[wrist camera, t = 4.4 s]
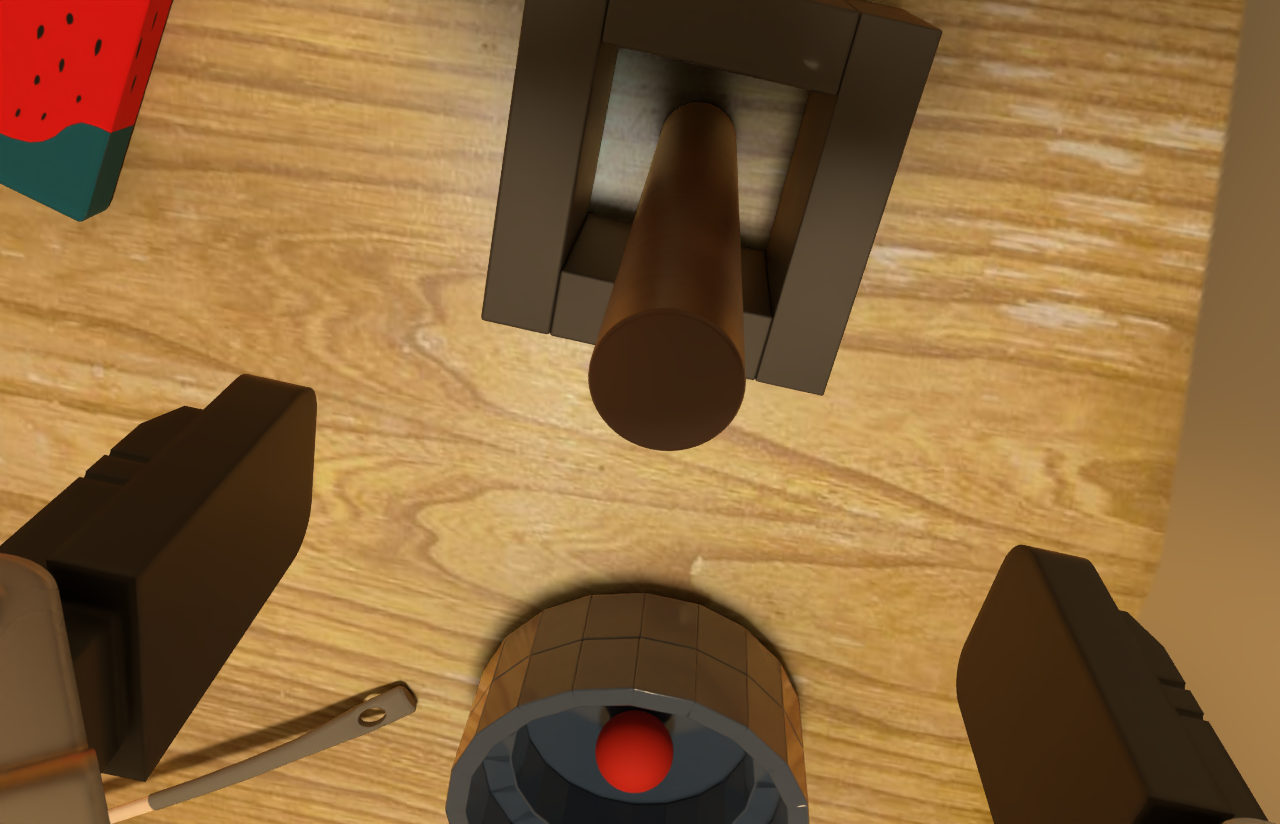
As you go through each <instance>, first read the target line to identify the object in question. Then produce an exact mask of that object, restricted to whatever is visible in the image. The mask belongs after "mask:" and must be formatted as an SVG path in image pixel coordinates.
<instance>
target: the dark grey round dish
mask: <svg viewBox="0 0 1280 824" xmlns="http://www.w3.org/2000/svg"><path fill="white" fill-rule="evenodd" d="M631 710H639V711H644V712H647V713H650V714H652V715H654V716H655V717H657V718H658V719H659V720H660V721H661V722H662V723H663V724H664V725H665V727H666V728H667V730H668V731H669V733H670V736H671V739H672V742H673V761H672V765H671V768H670V770H669V772H668V774H667V775H666V777H665V778H664V779H663V780H662V782H660V783H659V784H658V785H657V786H656V787H654V788H652V789H650V790H648V791H645V792H641V793H628V792H624V791H621V790H618V789H616V788H615V787H613V786H612V785H611V784H609V783H608V782H607V781H606V779H605V778H604V777H603V776H602V774H601V772H600V770H599V768H598V765H597V762H596V755H595V749H596V742H597V738H598V736H599V733H600V731H601V729H602V728H603V726H604V725H605V724H606V723H607V722H608V721H609V720H610V719H611V718H613V717H614V716H616V715H617V714H619V713H622V712H625V711H631ZM445 809H446V814H447V818H448V821H449V824H809V806H808V794H807V784H806V773H805V762H804V752H803V740H802V729H801V718H800V707H799V700H798V697H797V695H796V693H795V691H794V689H793V687H792V685H791V683H790V681H789V679H788V677H787V675H786V673H785V671H784V669H783V667H782V665H781V663H780V662H779V660H778V659H777V658H776V657H775V656H774V655H773V654H772V653H771V652H770V651H769V650H768V649H767V648H765V647H764V646H763V645H762V644H761V643H760V642H759V641H758V640H757V639H756V638H755V637H754V636H753V635H752V634H751V633H750V632H749V631H748V630H747V629H745V627H743V626H741V625H739V624H737V623H735V622H733V621H731V620H730V619H728V618H726V617H724V616H722V615H720V614H718V613H716V612H714V611H712V610H710V609H708V608H706V607H704V606H702V605H700V604H699V605H698V604H696V603H692V602H687V601H682V600H678V599H673V598H668V597H664V596H659V595H655V594H650V593H646V594H645V593H623V594H599V595H588V596H585V597H582V598H579V599H576V600H573V601H570V602H566V603H563V604H560V605H557V606H554V607H551V608H548V609H545V610H543V611H542V612H540V613H539V614H537V615H536V616H535V617H533V618H532V619H530V620H529V621H528V622H526V623H525V624H523V625H522V626H521V627H519V628H518V629H516V630H515V631H514V632H512V633H511V634H509V635H508V636H507V637H506V638H505V639H504V640H503V642H502V643H501V645H500V646H499V648H498V650H497V651H496V653H495V654H494V656H493V657H492V659H491V660H490V662H489V663H488V665H487V666H486V668H485V669H484V672H483V674H482V677H481V680H480V683H479V687H478V690H477V693H476V696H475V699H474V702H473V705H472V708H471V711H470V714H469V718H468V720H467V724H466V727H465V730H464V733H463V736H462V739H461V742H460V745H459V748H458V751H457V754H456V757H455V761H454V764H453V767H452V770H451V775H450V782H449V788H448V794H447V800H446V807H445Z"/></svg>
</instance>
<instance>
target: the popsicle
mask: <svg viewBox="0 0 1280 824" xmlns="http://www.w3.org/2000/svg"><path fill="white" fill-rule="evenodd" d="M171 2H172V0H0V184H2V185H4V186H6V187H9V188H11V189H13V190H15V191H17V192H19V193H21V194H23V195H25V196H27V197H29V198H31V199H33V200H35V201H37V202H39V203H41V204H43V205H46V206H48V207H50V208H52V209H54V210H56V211H58V212H60V213H62V214H64V215H66V216H68V217H70V218H72V219H74V220H76V221H78V222H80V221H84V220H86V219H88V218H90V217H92V216H94V215H96V214H98V213H101V212H103V211H105V210H106V209H107V207H108V206H109V204H110V201H111V198H112V195H113V192H114V189H115V185H116V182H117V179H118V175H119V172H120V169H121V166H122V162H123V159H124V156H125V152H126V149H127V146H128V143H129V139H130V136H131V133H132V130H133V126H134V123H135V120H136V116H137V113H138V110H139V107H140V103H141V100H142V97H143V94H144V90H145V87H146V84H147V80H148V77H149V74H150V71H151V67H152V64H153V61H154V58H155V54H156V51H157V48H158V44H159V41H160V38H161V35H162V31H163V28H164V25H165V21H166V18H167V15H168V12H169V8H170V5H171Z"/></svg>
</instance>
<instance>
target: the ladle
mask: <svg viewBox="0 0 1280 824" xmlns="http://www.w3.org/2000/svg"><path fill="white" fill-rule="evenodd" d="M369 708H381V709H383V710H384V711H385V713H386V714H385V715H384V717H382V718H381V719H379V720H377V721H374V722H365V721H363V720H362V719H361V718H360V714H361V713H362V712H363V711H365V710H367V709H369ZM415 710H416V703H415V701H414V699H413V697H412V695H411V694H410V692H409V691H408V690H407V689H406V688H405V687H403V686H397V687H395V688H393V689H391V690H389V691H386V692H384V693H382V694H380V695H378V696H376V697H374V698H371V699H369V700H368V701H366V702H364V703H361V704H359V705H357V706H355V707H353V708H351V709H350V710H348V711H346V712H344V713H342V714H340V715H339V716H337V717H335V718H333V719H331V720H329V721H328V722H326V723H324V724H322V725H320V726H318V727H317V728H315V729H313V730H311V731H309V732H307V733H306V734H304V735H302V736H300V737H298V738H296V739H294V740H292V741H290V742H287V743H285V744H282V745H280V746H278V747H275V748H273V749H270V750H268V751H266V752H263V753H261V754H258V755H256V756H253V757H251V758H249V759H246V760H244V761H241V762H239V763H236V764H233V765H231V766H228V767H225V768H223V769H220V770H217V771H215V772H212V773H209V774H207V775H204V776H202V777H199V778H196V779H193V780H190V781H188V782H185V783H182V784H179V785H176V786H173V787H170V788H167V789H164V790H161V791H158V792H155V793H153V794H150V795H149V796H147V797H144V798H141V799H138V800H135V801H132V802H129V803H126V804H123V805H120V806H117V807H114V808H111V809H108V814H109V819H110V824H113V823H116V822H119V821H122V820H125V819H128V818H131V817H134V816H137V815H141V814H144V813H147V812H150V811H153V810H159V809H162V808H165V807H168V806H171V805H174V804H177V803H180V802H184V801H187V800H190V799H193V798H196V797H199V796H202V795H205V794H207V793H210V792H213V791H216V790H219V789H222V788H225V787H227V786H230V785H233V784H236V783H239V782H242V781H245V780H247V779H250V778H253V777H255V776H258V775H260V774H263V773H265V772H268V771H270V770H273V769H276V768H278V767H281V766H283V765H286V764H288V763H291V762H293V761H296V760H298V759H301V758H304V757H306V756H309V755H311V754H314V753H317V752H319V751H322V750H325V749H327V748H330V747H333V746H335V745H338V744H340V743H343V742H346V741H348V740H351V739H354V738H356V737H359V736H361V735H364V734H367V733H369V732H372V731H374V730H376V729H378V728H380V727H382V726H385V725H387V724H390V723H392V722H394V721H396V720H398V719H400V718H403V717H405V716H407V715H409V714H411V713H413V712H415Z"/></svg>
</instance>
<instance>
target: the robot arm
mask: <svg viewBox="0 0 1280 824" xmlns="http://www.w3.org/2000/svg"><path fill="white" fill-rule="evenodd" d="M316 416H317V401H316V395H315V392H314V391H313V389H312V388H309V387H305V386H300V385H295V384H291V383H286V382H282V381H277V380H273V379H268V378H263V377H259V376H254V375H250V374H243V375H240V376H239V377H238V378H236V379H235V380H234V381H233V382H232V383H231V384H230V385H229V386H228V387H227V388H226V389H225V390H224V391H223V392H222V393H221V394H220V395H219V396H217V397H216V398H215V399H214V400H213V401H212V402H211V403H210V404H209V405H208V406H207V407H206V408H205V409H204V410H202V409H197V408H193V407H188V406H183V407H181V408H178V409H176V410H173V411H171V412H168V413H166V414H163V415H161V416H158V417H156V418H153V419H151V420H149V421H146V422H144V423H141V424H140V425H138V426H137V427H136V428H135V429H134V430H133V431H132V432H130V433H129V434H128V435H127V436H126V437H125V438H124V439H122V440H121V441H120V442H119V443H118V444H117V445H115V446H114V447H113V448H112V449H111V452H110V455H109V456H108V455H104V456H103V457H102V458H101V459H99V460H98V461H97V462H96V463H95V464H94V465H93V466H91V467H90V468H89V469H88V470H87V471H86V474H85V477H84V478H82V477H79V478H78V479H76V480H75V481H74V482H73V483H72V484H71V485H70V486H68V487H67V488H66V489H65V490H64V491H63V492H61V493H60V494H59V495H58V496H57V497H56V498H55V499H53V500H52V501H51V502H50V503H49V504H48V505H47V506H45V507H44V508H43V509H42V510H41V511H40V512H38V513H37V514H36V515H35V516H34V517H33V518H32V519H30V520H29V521H28V522H27V523H26V524H25V525H24V526H22V527H21V528H20V529H19V530H18V531H17V532H15V533H14V534H13V535H12V536H11V537H10V538H9V539H7V540H6V541H5V542H4V543H3V544H2V545H1V546H0V824H110V819H109V814H108V809H107V804H106V799H105V794H104V789H103V783H102V778H101V773H104V774H109V775H114V776H119V777H124V778H128V779H133V780H138V781H143V782H146V780H147V779H148V777H149V776H150V774H151V773H152V771H153V770H154V768H155V767H156V765H157V764H158V762H159V761H160V759H161V758H162V756H163V755H164V753H165V752H166V750H167V749H168V747H169V746H170V744H171V743H172V741H173V740H174V738H175V737H176V735H177V734H178V732H179V731H180V729H181V728H182V726H183V725H184V723H185V722H186V720H187V719H188V717H189V716H190V714H191V713H192V711H193V710H194V708H195V707H196V705H197V704H198V702H199V701H200V699H201V698H202V696H203V695H204V693H205V692H206V690H207V689H208V687H209V686H210V684H211V683H212V681H213V680H214V678H215V677H216V675H217V674H218V672H219V671H220V669H221V668H222V666H223V665H224V663H225V662H226V660H227V659H228V657H229V656H230V654H231V653H232V651H233V650H234V648H235V647H236V646H237V644H238V643H239V641H240V640H241V638H242V637H243V635H244V634H245V632H246V631H247V629H248V628H249V626H250V625H251V623H252V622H253V620H254V619H255V617H256V616H257V614H258V613H259V611H260V610H261V608H262V607H263V605H264V604H265V602H266V601H267V599H268V598H269V596H270V595H271V593H272V592H273V590H274V589H275V587H276V586H277V584H278V583H279V581H280V580H281V578H282V577H283V575H284V574H285V572H286V571H287V569H288V568H289V566H290V565H291V563H292V562H293V560H294V559H295V557H296V555H297V553H298V551H299V549H300V547H301V544H302V542H303V539H304V536H305V533H306V530H307V526H308V522H309V517H310V511H311V503H312V486H313V469H314V451H315V434H316ZM956 689H957V699H958V703H959V707H960V710H961V714H962V717H963V721H964V724H965V727H966V731H967V734H968V737H969V741H970V744H971V747H972V751H973V754H974V757H975V761H976V764H977V768H978V771H979V774H980V778H981V781H982V784H983V788H984V791H985V794H986V798H987V801H988V804H989V808H990V811H991V815H992V818H993V821H994V824H1275V823H1272V822H1269V821H1268V819H1267V818H1266V816H1265V814H1264V813H1263V811H1262V809H1261V808H1260V806H1259V804H1258V803H1257V801H1256V799H1255V798H1254V796H1253V794H1252V793H1251V791H1250V789H1249V788H1248V786H1247V784H1246V783H1245V781H1244V780H1243V778H1242V776H1241V774H1240V773H1239V771H1238V769H1237V768H1236V766H1235V765H1234V763H1233V761H1232V760H1231V758H1230V756H1229V755H1228V753H1227V751H1226V750H1225V748H1224V746H1223V745H1222V743H1221V741H1220V740H1219V738H1218V736H1217V735H1216V733H1215V731H1214V730H1213V728H1212V726H1211V725H1210V723H1209V722H1208V721H1204V720H1203V715H1204V713H1203V711H1202V710H1201V708H1200V707H1199V705H1198V703H1197V701H1196V700H1195V698H1194V696H1193V695H1192V693H1191V691H1189V690H1185V681H1184V680H1183V678H1182V676H1181V675H1180V673H1179V672H1178V670H1177V668H1176V666H1175V665H1174V663H1173V662H1172V660H1171V658H1170V657H1169V655H1168V653H1167V652H1166V650H1165V648H1164V647H1163V646H1162V645H1161V644H1160V643H1159V642H1158V641H1157V640H1156V639H1155V638H1154V637H1153V636H1151V634H1150V633H1149V632H1148V631H1146V630H1145V629H1144V628H1143V627H1142V626H1141V625H1140V624H1139V623H1138V622H1137V621H1136V620H1135V619H1134V618H1133V617H1132V616H1131V615H1130V614H1129V613H1128V612H1125V611H1120V610H1118V608H1117V606H1116V604H1115V602H1114V601H1113V599H1112V597H1111V595H1110V594H1109V592H1108V590H1107V588H1106V587H1105V585H1104V583H1103V581H1102V580H1101V578H1100V576H1099V574H1098V573H1097V571H1096V569H1095V567H1094V566H1093V564H1092V563H1091V562H1090V561H1089V560H1087V559H1085V558H1081V557H1077V556H1072V555H1067V554H1063V553H1058V552H1054V551H1049V550H1045V549H1040V548H1035V547H1031V546H1026V545H1018V546H1015V547H1014V548H1013V549H1012V550H1011V551H1010V552H1009V553H1008V554H1007V556H1006V557H1005V559H1004V561H1003V563H1002V565H1001V567H1000V569H999V571H998V574H997V576H996V578H995V580H994V582H993V584H992V586H991V589H990V591H989V593H988V595H987V597H986V599H985V601H984V604H983V606H982V608H981V610H980V612H979V614H978V616H977V618H976V621H975V623H974V625H973V627H972V629H971V631H970V633H969V636H968V638H967V640H966V642H965V644H964V647H963V649H962V652H961V655H960V659H959V663H958V669H957V679H956Z"/></svg>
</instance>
